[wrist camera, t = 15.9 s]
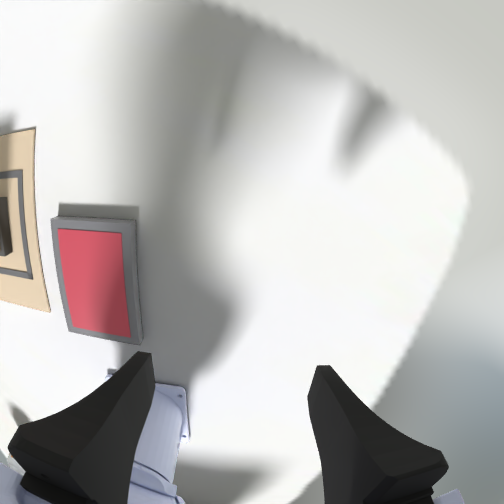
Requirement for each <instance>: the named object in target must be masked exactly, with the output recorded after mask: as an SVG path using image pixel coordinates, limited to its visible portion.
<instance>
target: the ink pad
mask: <svg viewBox="0 0 504 504" xmlns="http://www.w3.org/2000/svg"><path fill="white" fill-rule="evenodd" d="M51 230H52V240H53V249H54V257H55V264H56V271H57V277H58V283H59V289H60V294H61V299H62V304H63V309H64V313H65V318H66V322H67V326H68V330H69V332H74V333H78V334H83V335H87V336H92V337H97V338H102V339H107V340H112V341H118V342H124V343H129V344H135V345H140V344H141V342H142V340H143V332H142V323H141V314H140V303H139V290H138V276H137V256H136V220H123V219H106V218H87V217H67V216H57V217H54V218H52V219H51Z"/></svg>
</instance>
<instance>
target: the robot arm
mask: <svg viewBox="0 0 504 504" xmlns="http://www.w3.org/2000/svg"><path fill="white" fill-rule="evenodd" d="M105 380H106V382H105V383H103V384H102V385H101V386H100V387H98V388H97V389H96V390H95V391H93V392H92V393H91V394H89V395H88V396H86V397H85V398H83V399H82V400H80V401H79V402H77V403H75V404H73V405H72V406H70V407H68V408H66V409H64V410H62V411H60V412H58V413H56V414H53V415H51V416H48V417H46V418H43V419H40V420H37V421H34V422H30V423H26V424H23V425H20V426H19V428H18V429H17V431H16V433H15V434H14V436H13V438H12V439H11V441H10V443H9V445H8V450H9V452H10V454H11V455H12V457H13V458H14V459H15V460H16V461H17V463H18V464H19V465H20V466H21V467H22V468H23V469H24V470H25V474H24V476H22V475H21V474H19V473H18V472H16V471H15V470H13V469H11V468H10V467H8V466H6V465H4V464H3V463H1V462H0V504H185V502H184V500H183V499H182V498H181V497H180V496H177V495H176V492H177V485H174V484H172V483H173V480H174V474H175V469H176V463H177V457H178V451H179V446H180V442H181V443H188V442H189V440H190V438H189V428H188V417H187V405H186V391H185V389H184V388H183V387H180V386H172V385H165V384H159V383H155V378H154V371H153V364H152V356H151V353H145V352H139V351H138V352H137V353H136V354H134V355H133V356H132V357H131V358H130V359H129V360H128V361H127V362H126V363H125V364H124V365H123V366H122V367H121V368H120V369H119V370H118V371H117V372H116V373H115V374H114V375H111V374H108V375H106V377H105ZM179 394H180V395H179ZM307 397H308V407H309V415H310V420H311V424H312V428H313V431H314V435H315V439H316V443H317V447H318V451H319V455H320V460H321V466H322V475H323V485H324V497H325V504H465V503H464V500H463V498H462V496H461V494H460V492H459V489H455V490H452V491H450V492H448V493H446V494H444V495H441V496H439V497H437V498H435V499H434V500H432V498H431V495H432V494H433V493H434V491H433V489H432V486H433V485H434V484H435V483H436V482H437V481H438V480H440V479H441V478H442V477H443V476H444V474H445V473H446V472H447V470H448V468H449V466H448V464H447V462H446V460H445V458H444V456H443V454H442V452H441V451H440V450H437V449H434V448H432V447H429V446H427V445H424V444H422V443H420V442H418V441H416V440H413V439H412V438H410V437H408V436H406V435H404V434H403V433H401V432H399V431H398V430H396V429H395V428H393V427H392V426H390V425H389V424H387V423H386V422H385V421H384V420H382V419H381V418H380V417H378V416H377V415H376V414H375V413H374V412H372V411H371V410H370V409H369V408H368V407H367V406H366V405H365V404H364V403H363V402H362V401H361V400H360V399H359V398H358V397H357V396H356V395H355V394H354V393H353V392H352V390H351V389H350V388H349V387H348V386H347V385H346V384H345V382H344V381H343V380H342V379H341V378H340V377H339V375H338V374H337V373H336V372H335V371H334V369H333V368H332V367H331V366H330V365H319V366H317V367H316V370H315V374H314V377H313V380H312V384H311V387H310V390H309V393H308V396H307Z"/></svg>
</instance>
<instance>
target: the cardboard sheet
mask: <svg viewBox="0 0 504 504" xmlns="http://www.w3.org/2000/svg"><path fill="white" fill-rule="evenodd" d="M34 143H35V129H33V130H27V131H21V132H16V133H11V134H6V135H1V136H0V197H7V203H8V216H9V226H10V235H11V242H12V249H13V252H12V253H10V254H9V255H7V256H5V257H4V256H0V300H2V301H6V302H9V303H13V304H17V305H20V306H24V307H28V308H32V309H36V310H40V311H45V312H49V313H50V312H51V311H50V306H49V302H48V297H47V293H46V288H45V282H44V277H43V271H42V265H41V259H40V252H39V244H38V236H37V226H36V214H35V197H34Z"/></svg>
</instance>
